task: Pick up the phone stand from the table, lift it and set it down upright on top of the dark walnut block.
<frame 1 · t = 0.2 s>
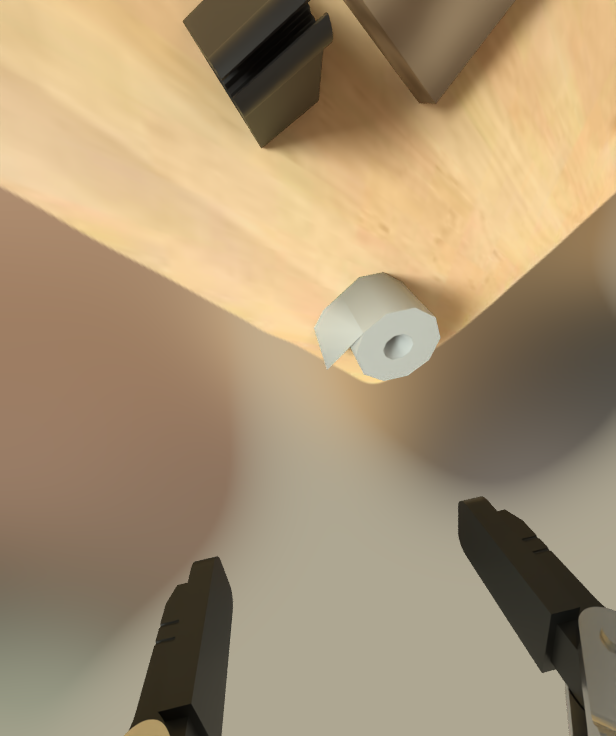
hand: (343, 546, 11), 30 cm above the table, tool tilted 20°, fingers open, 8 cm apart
toilet tissue: (360, 311, 42), on the table
phone stand: (255, 64, 26), on the table
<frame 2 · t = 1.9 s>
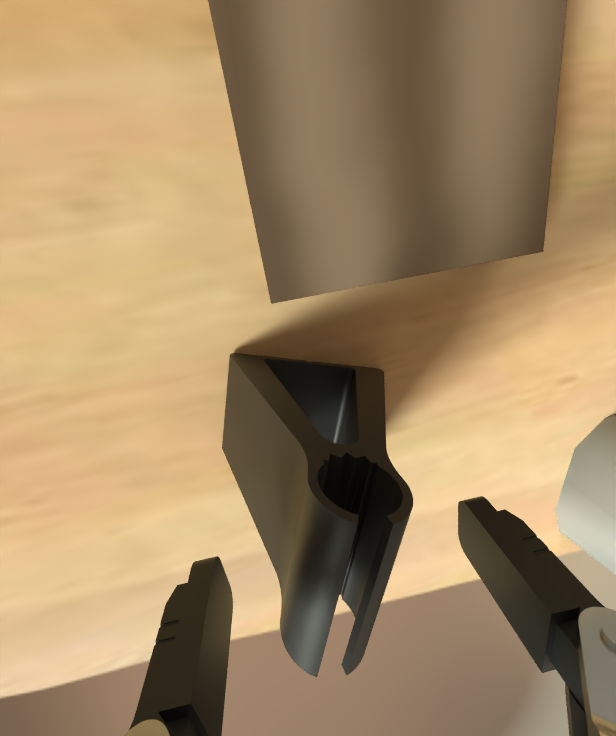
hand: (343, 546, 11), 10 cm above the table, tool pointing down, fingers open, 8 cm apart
toilet tissue: (607, 471, 26), on the table
phone stand: (301, 405, 20), on the table
walnut block: (377, 130, 15), on the table
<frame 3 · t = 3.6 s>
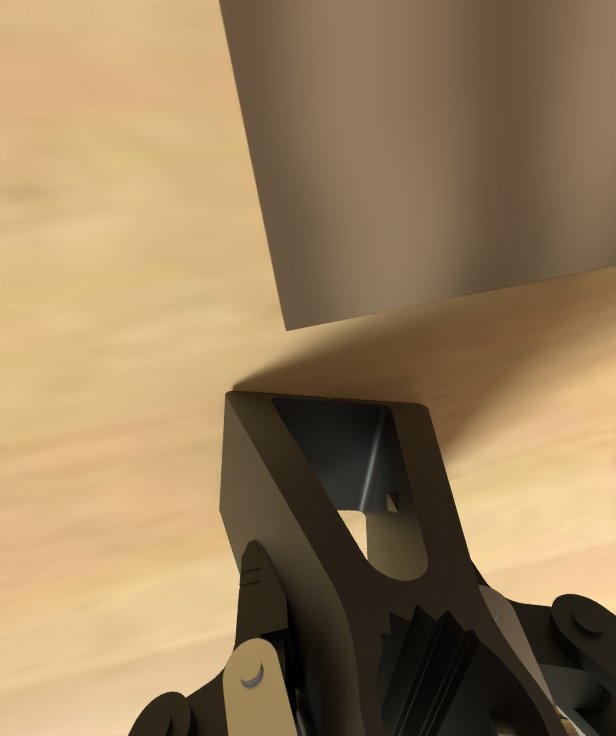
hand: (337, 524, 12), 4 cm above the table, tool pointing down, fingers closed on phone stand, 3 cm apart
phone stand: (319, 451, 16), on the table, touching gripper
walnut block: (434, 85, 11), on the table
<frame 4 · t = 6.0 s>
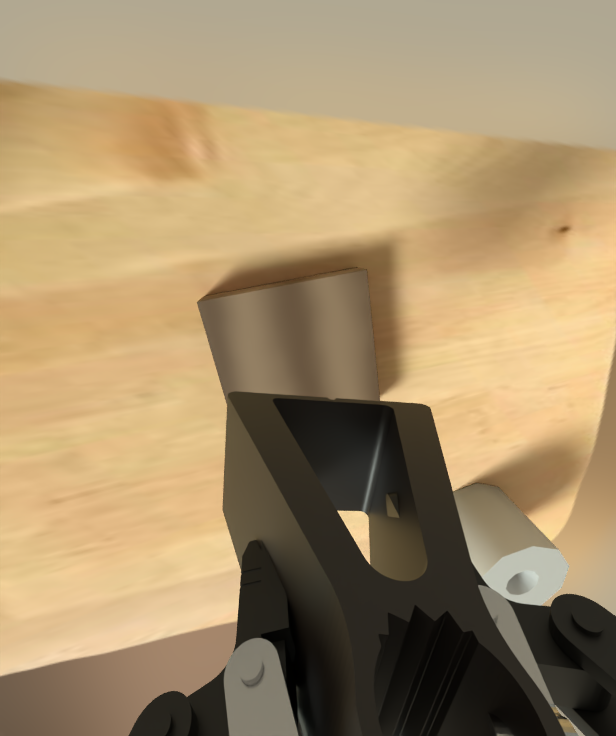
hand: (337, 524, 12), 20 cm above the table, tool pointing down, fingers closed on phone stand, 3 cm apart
toilet tissue: (463, 522, 40), on the table
phone stand: (322, 452, 16), point 15 cm above the table, touching gripper
walnut block: (295, 354, 30), on the table
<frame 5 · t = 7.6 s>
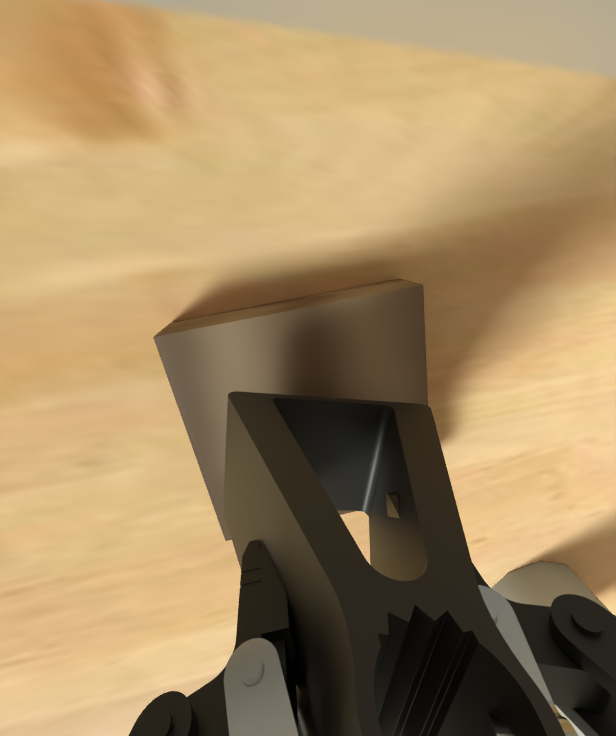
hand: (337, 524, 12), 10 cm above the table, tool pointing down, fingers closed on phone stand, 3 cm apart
toilet tissue: (517, 605, 31), on the table
phone stand: (322, 452, 16), point 5 cm above the table, touching gripper
walnut block: (306, 402, 21), on the table
when the fingers open (9 cm above the table, at t = 8.6 s): phone stand drops 1 cm, resting on walnut block.
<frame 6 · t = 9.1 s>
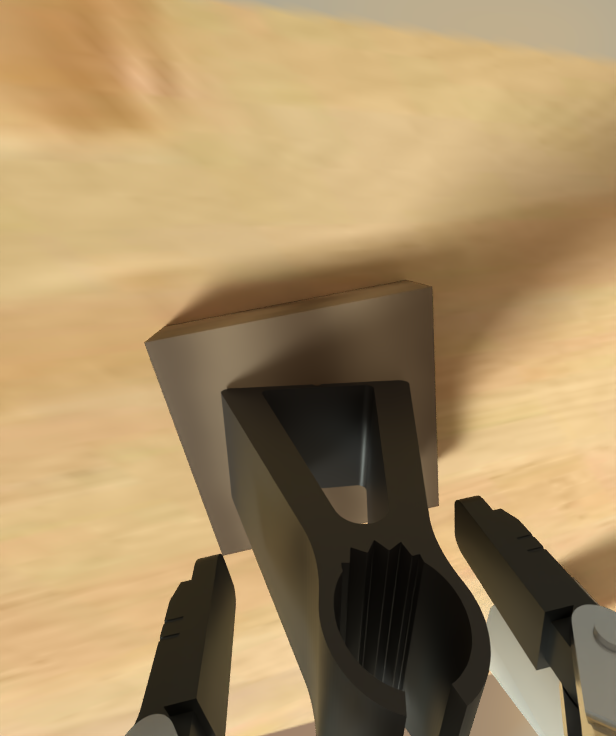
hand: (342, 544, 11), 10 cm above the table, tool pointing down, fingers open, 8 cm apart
toilet tissue: (523, 619, 30), on the table
phone stand: (315, 435, 17), point 3 cm above the table, touching walnut block
walnut block: (307, 410, 20), on the table
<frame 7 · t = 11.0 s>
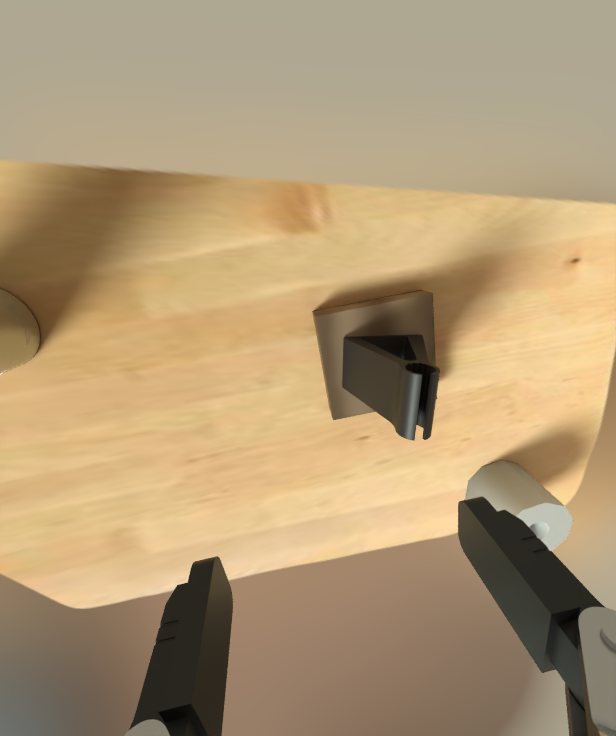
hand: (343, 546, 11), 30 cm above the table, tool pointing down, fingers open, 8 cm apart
toilet tissue: (489, 492, 51), on the table
phone stand: (380, 359, 38), point 3 cm above the table, touching walnut block
walnut block: (372, 352, 41), on the table
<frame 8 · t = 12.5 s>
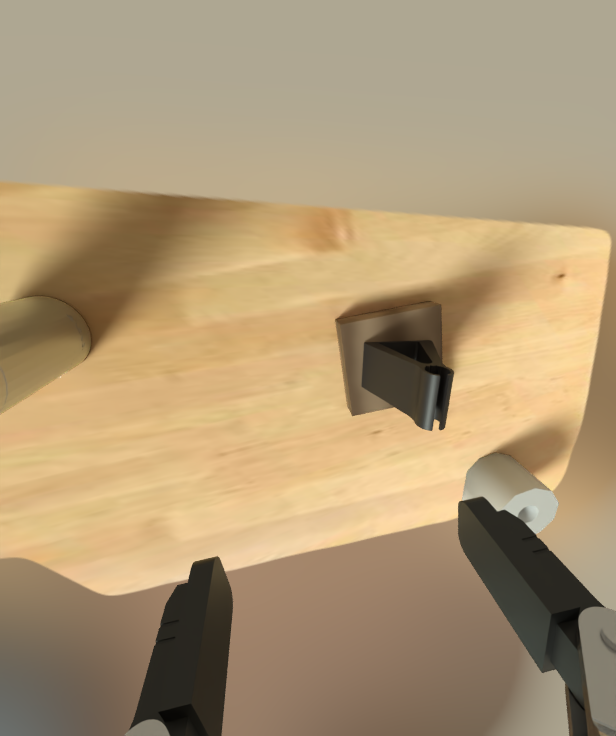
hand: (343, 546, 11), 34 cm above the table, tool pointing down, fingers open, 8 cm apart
toilet tissue: (485, 481, 57), on the table
phone stand: (394, 362, 43), point 3 cm above the table, touching walnut block
walnut block: (386, 355, 46), on the table
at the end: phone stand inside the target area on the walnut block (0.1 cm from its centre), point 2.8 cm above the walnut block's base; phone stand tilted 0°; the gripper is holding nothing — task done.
